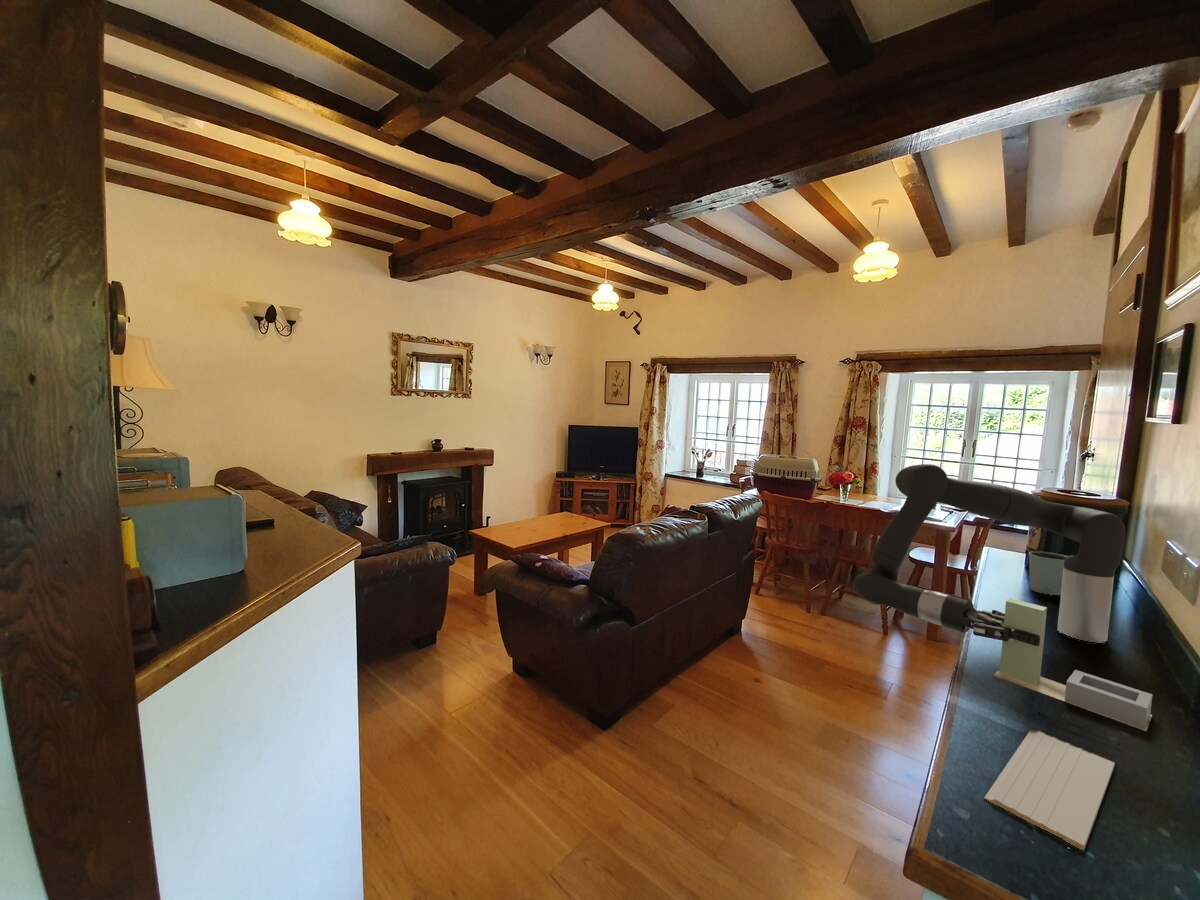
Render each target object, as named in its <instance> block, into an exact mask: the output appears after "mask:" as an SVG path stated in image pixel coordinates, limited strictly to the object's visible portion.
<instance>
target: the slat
mask: <svg viewBox="0 0 1200 900" xmlns="http://www.w3.org/2000/svg"><path fill="white" fill-rule="evenodd" d="M1047 611H1048V607H1046V606H1044V605H1038V604H1036V603H1031V602H1027V601H1022V600H1020V599H1019V600H1018V599H1016V598H1012V597H1010V598H1008V599H1007V600H1006V601H1005V611H1004V614H1005V618H1004V625H1007V626H1010V627H1013V628H1015V629H1016V630H1017V629H1019V630H1022V631H1026V632H1029V633H1033V634H1036V635H1039V636H1040V644H1039V645H1038V646H1034V645H1031V644H1028V643H1024V642H1021V641H1018V640H1016V639H1015V640H1009V639H1008V641H1002V640H1001V643H1002V644H1001V652H1000V664H999V669H1000V673H1002V674H1005V675H1007V676H1010V677H1013V678H1016V679H1019V680H1021V681H1024V682H1027V683H1030V684H1033V685H1035V686H1036V685H1037V684H1038V683H1039V681H1040V677H1041V672H1042V661H1043V654H1044V651H1043V650H1044V641H1045V638H1044V634H1045V635H1046V633H1045V631H1046V623H1047Z"/></svg>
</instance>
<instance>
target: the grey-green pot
mask: <svg viewBox="0 0 1200 900" xmlns="http://www.w3.org/2000/svg"><path fill="white" fill-rule="evenodd" d="M1067 556H1068V555H1064V554H1060V553H1059V554H1058V553H1054V552H1050V551H1049V552H1048V551H1040V550H1039V551H1036V550H1035V551H1029V552H1028V568H1029V570H1028V571H1029V573H1028V574H1029V589H1030V590H1031V591H1033V592H1037V593H1038V592H1039V594H1042V593H1044V594H1043V595H1046V594H1049V595H1048V596H1052V595H1058V596H1057V597H1061V588H1062V577H1063V567H1064V559H1065V558H1066V557H1067ZM1059 595H1060V596H1059Z"/></svg>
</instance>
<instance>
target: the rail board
mask: <svg viewBox="0 0 1200 900" xmlns="http://www.w3.org/2000/svg"><path fill="white" fill-rule="evenodd" d="M992 676H994V677H996V678H999V679H1002V680H1005V681H1007V682H1011V683H1013V684H1016V685H1018V686H1021V687H1024V688H1027V689H1029V690H1032V691H1034V692H1038V693H1040V694H1043V695H1046V696H1049V697H1051V698H1054V699H1056V700H1059V701H1063V702H1065V703H1067V704H1070V705H1073V706H1076V707H1079V708H1081V709H1085V710H1087V711H1090V712H1092V713H1095V714H1098V715H1101V716H1103V717H1106V718H1109V719H1112V720H1113V721H1117V722H1120V723H1123V724H1125V725H1128V726H1131V727H1134V728H1136V729H1139V730H1142V731H1145V732H1147V731H1148V728H1149V725H1150V722H1151V719H1152V717H1153V714H1151V713H1150V717H1149V719H1148V722H1147V724H1146V727H1145V730H1144V729H1141V728H1138V727H1136V726H1133V725H1130V724H1127V723H1125V722H1122V721H1119V720H1116V719H1114V718H1111V717H1108V716H1105V715H1103V714H1100V713H1097V712H1094V711H1092V710H1089V709H1086V708H1083V707H1081V706H1078V705H1075V704H1072V703H1070V702H1067V701H1065V692H1066V684H1063V683H1060V682H1058V681H1055V680H1053V679H1048V678H1045V677H1043V676H1040V681H1039V683H1038V684H1037V685H1036V686H1035V685H1033V684H1030V683H1027V682H1024V681H1021V680H1019V679H1016V678H1013V677H1010V676H1007V675H1005V674H1002V673H1000V668H999V669H998V670H997V671H996V672H994V673H993V675H992Z"/></svg>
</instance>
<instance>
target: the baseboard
mask: <svg viewBox="0 0 1200 900" xmlns="http://www.w3.org/2000/svg"><path fill="white" fill-rule="evenodd" d="M1032 714H1033V716H1035V717H1036V714H1034V713H1032ZM1037 714H1038V715H1039V716H1044V717H1046V718H1050V719H1051V720H1054V721H1057V722H1060V723H1061V724H1064V725H1068V726H1070V727H1072V728H1075V729H1077V730H1080V731H1082V732H1085V733H1087V734H1090V735H1092V736H1095V737H1098V738H1099V739H1100V738H1101V739H1104V740H1105V741H1109V742H1111V743H1114V744H1116V745H1117V747H1118V746H1121V744H1120V743H1119V742H1117V743H1116V742H1114V741H1111V740H1109V739H1107V738H1106V739H1105V738H1103V737H1102V736H1098V735H1096V734H1093V733H1090V732H1088V731H1086V730H1084V726H1081V725H1079V724H1075V723H1072V722H1070V721H1067V722H1066V723H1065V722H1062V721H1061V720H1057V719H1055V718H1052V717H1050V716H1047V715H1044V714H1041V712H1037ZM1116 763H1117V762H1116V761H1113V760H1111V759H1109V758H1106V757H1104V756H1102V755H1099V754H1097V753H1094V752H1092V751H1090V750H1087V749H1085V748H1082V747H1080V746H1078V745H1075V744H1072V743H1071V742H1067V741H1065V740H1063V739H1061V738H1058V737H1055V736H1053V735H1051V734H1048V733H1046V732H1044V731H1040V730H1038V729H1036V728H1035V727H1031V728H1030V730H1029V732H1028V733H1027V734H1026V736H1025V737H1024V739H1023V740H1022V741H1021V743H1020V745H1019V746H1018V747H1017V749H1016V750H1015V751H1014V753H1013V755H1012V756H1011V757H1010V759H1009V761H1008V762H1007V764H1006V765H1005V766H1004V768H1003V770H1002V771H1001V772H1000V774H999V775H998V777H997V778H996V780H995V781H994V783H993V784H992V785H991V787H990V789H989V790H988V791H987V793H986V794H985V796H984V797H983V800H984V799H986V800H987V802H988V801H989V803H990V802H991V803H990V804H992V803H993V804H992V805H994V804H995V805H994V806H996V805H998V806H1000V807H1002V808H1004V809H1005V810H1007V811H1010V812H1011V813H1013V814H1015V815H1016V816H1018V817H1020V818H1022V819H1024V820H1026V821H1027V822H1026V821H1025V822H1026V823H1028V822H1030V823H1032V824H1033V825H1036V826H1038V827H1040V828H1041V829H1044V830H1046V831H1048V832H1050V833H1052V834H1054V835H1056V836H1058V837H1060V838H1062V839H1063V840H1065V841H1066V842H1068V843H1070V844H1071V845H1073V846H1075V847H1077V848H1079V849H1081V850H1083V851H1082V852H1084V851H1085V848H1086V846H1087V842H1088V840H1089V837H1090V835H1091V832H1092V829H1093V826H1094V824H1095V821H1096V819H1097V815H1098V812H1099V809H1100V807H1101V804H1102V802H1103V800H1104V796H1105V795H1106V794H1105V793H1106V790H1107V788H1108V785H1109V782H1110V780H1111V777H1112V774H1113V772H1114V768H1115V766H1116ZM986 800H985V801H986ZM998 806H997V807H998ZM1005 810H1004V811H1005ZM1007 811H1006V812H1007ZM1011 813H1010V814H1011ZM1013 814H1012V815H1013ZM1015 815H1014V816H1015ZM1016 816H1015V817H1016ZM1018 817H1017V818H1018ZM1020 818H1019V819H1020ZM1022 819H1021V820H1022ZM1024 820H1023V821H1024ZM1030 823H1029V824H1030ZM1032 824H1031V825H1032ZM1033 825H1032V826H1033ZM1041 829H1040V830H1041ZM1066 842H1065V843H1066ZM1068 843H1067V844H1068ZM1071 845H1070V846H1071ZM1073 846H1072V847H1073ZM1075 847H1074V848H1075ZM1077 848H1076V849H1077ZM1079 849H1078V850H1079ZM1081 850H1080V851H1081Z"/></svg>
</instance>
